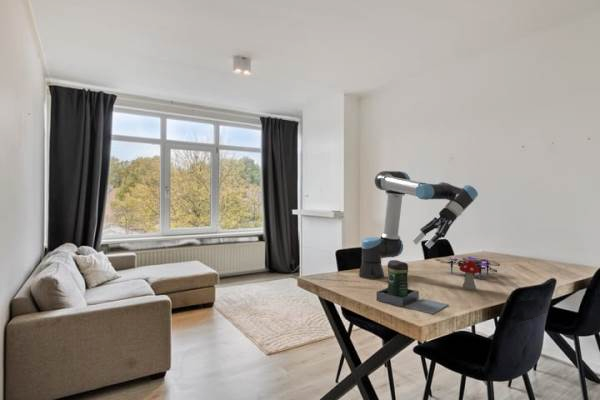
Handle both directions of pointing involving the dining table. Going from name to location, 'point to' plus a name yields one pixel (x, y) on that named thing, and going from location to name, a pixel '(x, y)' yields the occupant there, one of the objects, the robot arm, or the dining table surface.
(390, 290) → the coffee jar
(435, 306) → the rubber pad
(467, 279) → the decorative mushroom
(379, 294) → the locating collar
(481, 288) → the dining table surface
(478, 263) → the drone
